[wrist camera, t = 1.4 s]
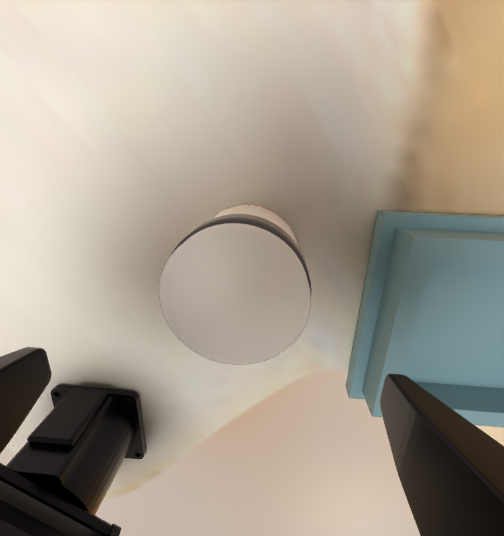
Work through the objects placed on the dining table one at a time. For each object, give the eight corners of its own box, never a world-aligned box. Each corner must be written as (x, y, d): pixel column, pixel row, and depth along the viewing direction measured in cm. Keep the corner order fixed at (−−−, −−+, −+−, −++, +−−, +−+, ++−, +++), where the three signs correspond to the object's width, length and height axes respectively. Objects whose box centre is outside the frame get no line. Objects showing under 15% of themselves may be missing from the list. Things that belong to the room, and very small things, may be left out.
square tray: (530, 401, 19) (575, 443, 16) (345, 386, 19) (357, 424, 17) (616, 220, 15) (698, 233, 12) (377, 210, 15) (401, 220, 12)
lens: (295, 306, 18) (305, 371, 12) (197, 300, 18) (162, 360, 12) (305, 205, 16) (322, 228, 10) (194, 200, 16) (149, 220, 10)
